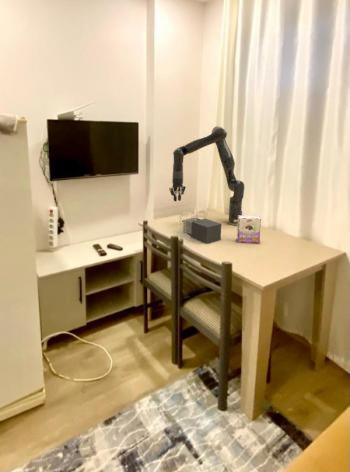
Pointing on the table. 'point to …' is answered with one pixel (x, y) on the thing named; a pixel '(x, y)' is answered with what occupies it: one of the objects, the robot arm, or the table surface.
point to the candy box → (248, 229)
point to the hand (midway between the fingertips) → (177, 200)
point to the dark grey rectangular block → (206, 230)
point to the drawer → (188, 224)
